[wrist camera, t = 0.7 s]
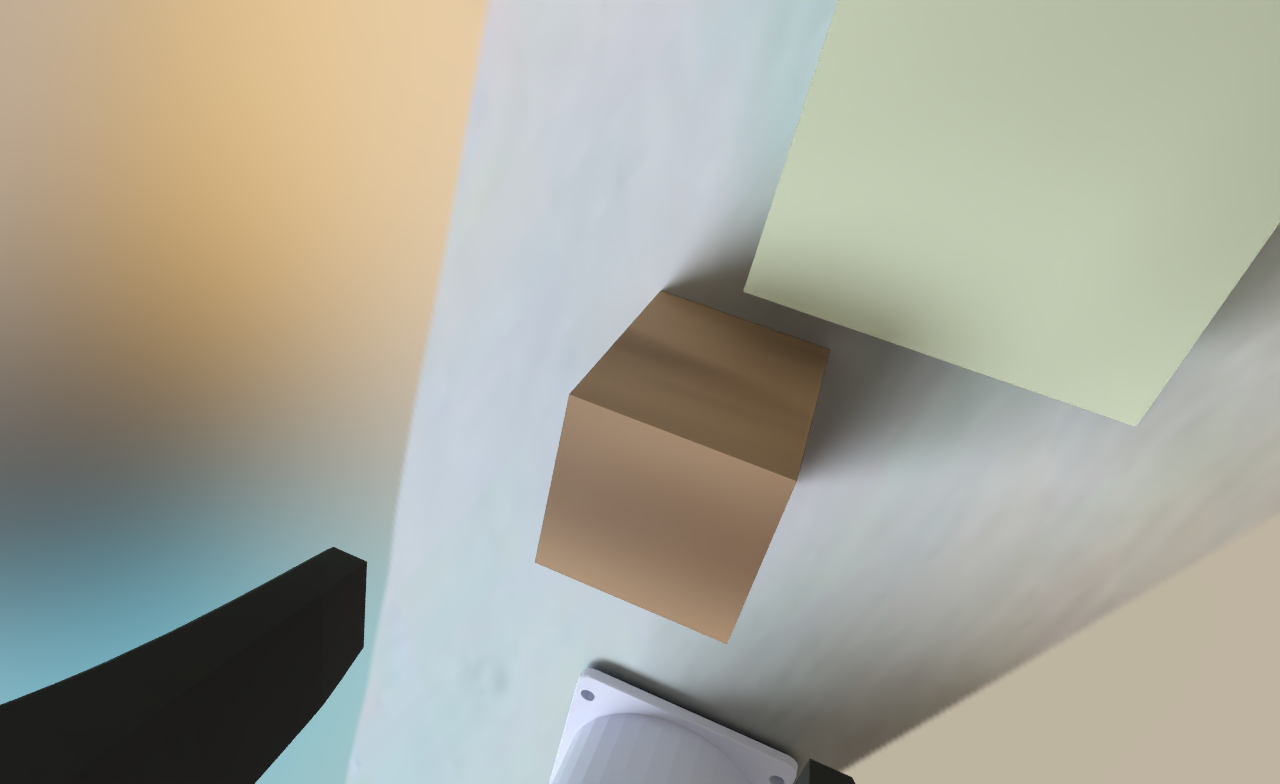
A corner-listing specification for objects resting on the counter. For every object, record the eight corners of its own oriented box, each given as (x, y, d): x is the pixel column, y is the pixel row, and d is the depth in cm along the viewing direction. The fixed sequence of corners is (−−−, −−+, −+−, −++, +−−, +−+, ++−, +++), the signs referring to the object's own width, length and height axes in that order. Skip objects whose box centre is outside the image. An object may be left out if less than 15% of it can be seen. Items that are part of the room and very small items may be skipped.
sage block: (1103, 362, 17) (1136, 427, 14) (767, 250, 18) (742, 291, 16) (1357, -34, 13) (1466, -42, 10) (898, -142, 14) (894, -174, 11)
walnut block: (773, 487, 21) (726, 644, 16) (624, 430, 21) (535, 562, 16) (830, 349, 18) (796, 481, 13) (661, 290, 19) (569, 394, 14)
